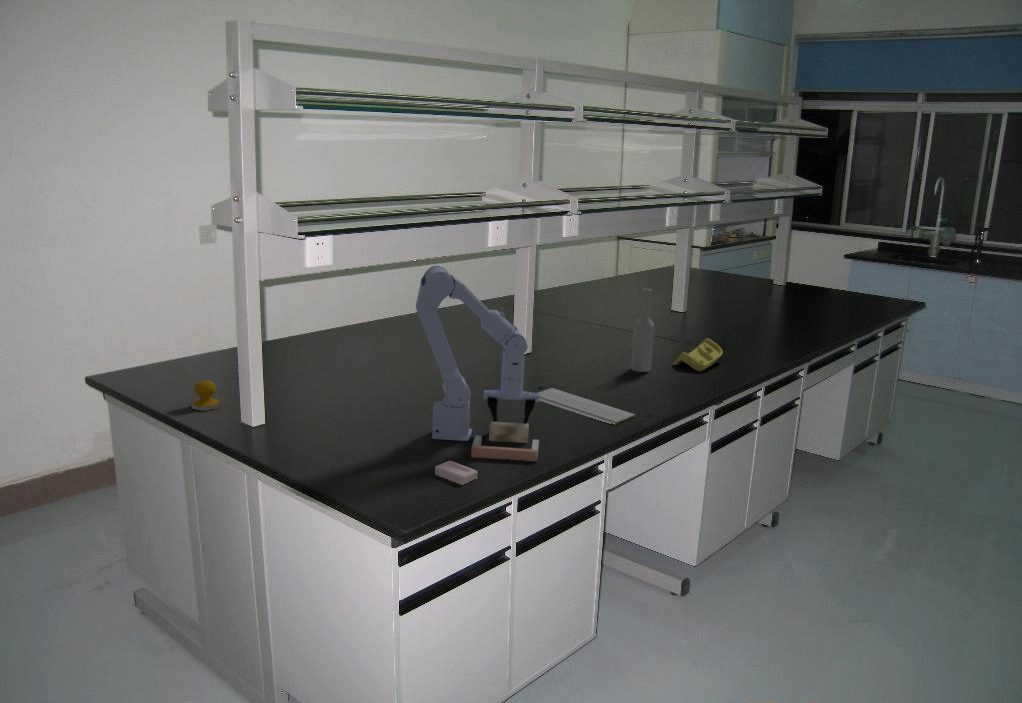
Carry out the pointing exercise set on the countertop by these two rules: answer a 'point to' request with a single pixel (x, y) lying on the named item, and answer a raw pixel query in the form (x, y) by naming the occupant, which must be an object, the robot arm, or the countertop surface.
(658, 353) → the countertop surface
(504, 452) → the block with end panels
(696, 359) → the plastic component
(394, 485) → the countertop surface
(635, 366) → the bottle
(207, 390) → the doorknob
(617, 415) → the baseboard molding
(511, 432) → the slat block
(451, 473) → the soap bar
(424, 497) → the countertop surface
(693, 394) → the countertop surface
